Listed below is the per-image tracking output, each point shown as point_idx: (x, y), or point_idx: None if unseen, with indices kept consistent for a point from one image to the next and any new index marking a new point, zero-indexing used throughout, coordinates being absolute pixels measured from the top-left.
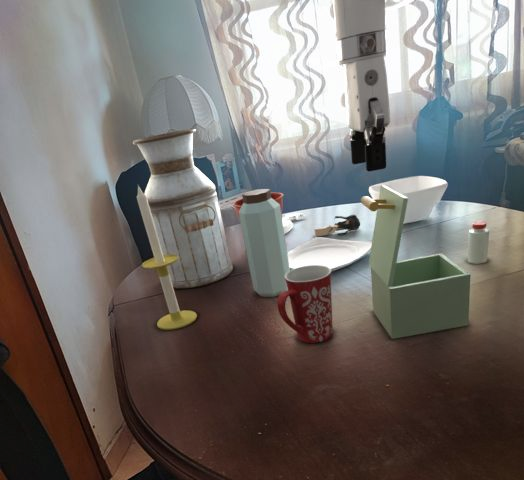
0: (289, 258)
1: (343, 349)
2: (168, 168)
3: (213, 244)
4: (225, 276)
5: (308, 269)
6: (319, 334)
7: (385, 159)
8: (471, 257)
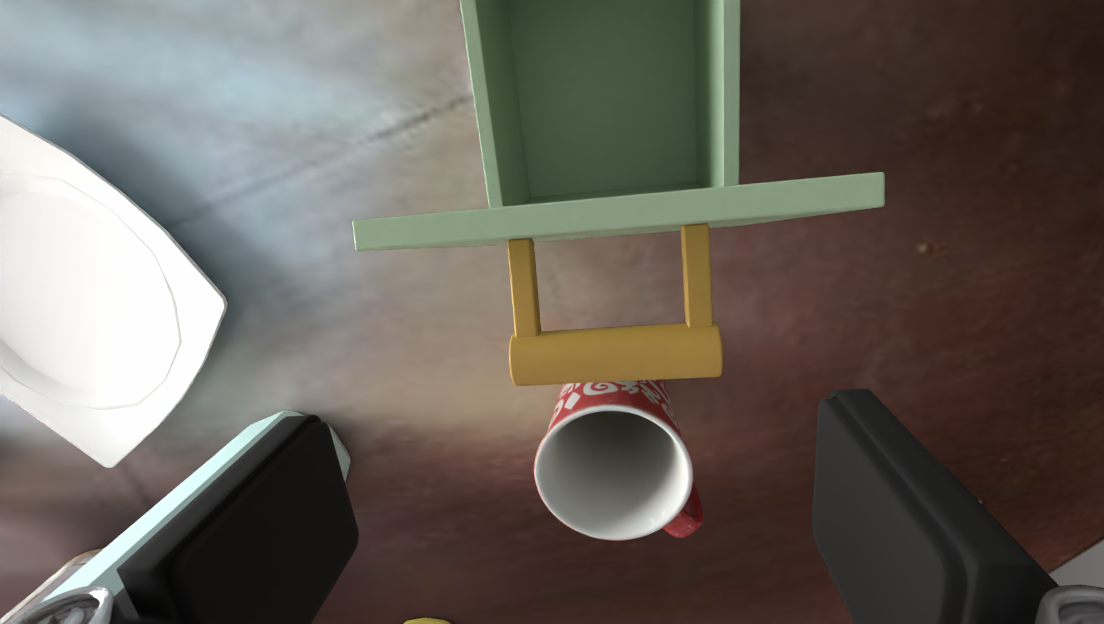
0: (76, 402)
1: (715, 317)
2: None
3: None
4: None
5: (544, 460)
6: None
7: (899, 428)
8: None
